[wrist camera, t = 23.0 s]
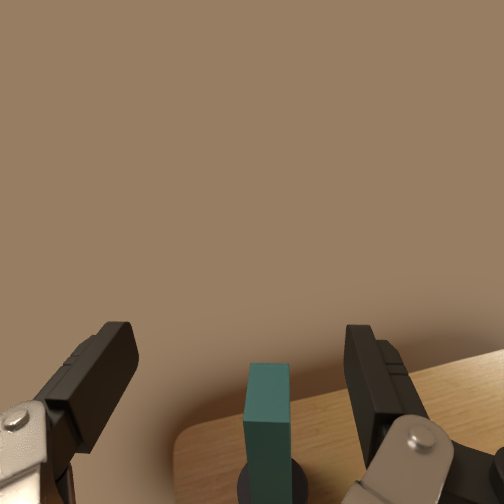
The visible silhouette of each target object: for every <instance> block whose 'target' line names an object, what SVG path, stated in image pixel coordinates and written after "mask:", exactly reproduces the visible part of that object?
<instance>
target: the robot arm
mask: <svg viewBox="0 0 504 504" xmlns="http://www.w3.org/2000/svg"><path fill="white" fill-rule="evenodd" d="M138 361H139V354H138V349H137V345H136V342H135V338H134V334H133V330H132V326H131V324H130V323H129V322H107V323H106V324H105V325H104V326H103V327H102V328H101V329H100V331H99V332H98V333H97V334H96V335H92V336H91V337H89V338H88V339H87V340H85V341H84V342H82V343H81V344H80V345H79V346H78V347H77V348H76V349H75V350H74V352H73V353H72V354H71V356H70V357H69V358H68V359H67V360H66V361H65V362H64V363H63V366H61V367H60V368H59V369H58V371H57V372H56V373H55V374H54V375H53V376H52V377H51V379H50V380H49V381H48V382H47V383H46V385H45V386H44V387H43V388H42V389H41V390H40V392H39V393H38V394H37V395H36V396H35V398H34V399H33V400H30V401H25V402H21V403H19V404H16V405H14V406H12V407H10V408H9V409H7V410H6V411H4V412H3V413H1V414H0V504H76V501H75V492H74V482H73V473H72V466H71V463H70V461H71V459H72V457H73V456H74V454H75V453H88V454H90V452H91V451H92V449H93V447H94V445H95V443H96V442H97V440H98V438H99V436H100V434H101V433H102V431H103V429H104V427H105V425H106V424H107V422H108V420H109V418H110V416H111V415H112V413H113V411H114V409H115V407H116V406H117V404H118V402H119V400H120V398H121V396H122V395H123V393H124V391H125V389H126V387H127V386H128V384H129V382H130V380H131V378H132V377H133V375H134V373H135V371H136V369H137V366H138ZM344 373H345V379H346V383H347V387H348V392H349V396H350V401H351V405H352V409H353V414H354V418H355V423H356V427H357V431H358V436H359V440H360V445H361V449H362V453H363V458H364V462H365V467H366V470H367V471H366V473H365V475H364V476H363V478H362V479H361V481H358V480H357V481H355V482H354V483H353V484H352V486H351V487H350V489H349V491H348V492H347V494H346V496H345V497H344V499H343V501H342V503H341V504H504V447H502V448H500V449H499V450H498V451H497V452H496V454H495V456H494V455H491V454H488V453H485V452H481V451H478V450H475V449H472V448H469V447H466V446H463V445H461V444H458V443H456V442H454V441H453V440H451V439H450V438H449V436H448V435H447V433H446V432H445V431H444V430H443V429H442V428H441V427H440V426H438V425H437V424H436V423H434V422H433V421H431V420H430V419H429V417H428V415H427V413H426V411H425V408H424V406H423V404H422V402H421V400H420V398H419V395H418V393H417V391H416V389H415V387H414V385H413V383H412V380H411V378H410V376H408V372H407V370H406V368H405V366H404V365H403V362H402V359H401V357H400V355H399V352H398V351H397V350H396V349H395V348H394V347H393V346H392V345H391V344H390V343H389V342H388V341H387V340H376V339H375V337H374V334H373V332H372V329H371V327H370V325H347V327H346V338H345V349H344Z"/></svg>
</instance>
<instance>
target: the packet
mask: <svg viewBox="0 0 504 504" xmlns="http://www.w3.org/2000/svg"><path fill="white" fill-rule="evenodd" d="M243 426H244V435H245V444H246V453H247V462H248V471H249V480H250V489H251V498H252V504H292V468H291V423H290V382H289V364H281V363H251V364H250V372H249V379H248V387H247V394H246V403H245V410H244V417H243Z"/></svg>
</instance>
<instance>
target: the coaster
mask: <svg viewBox="0 0 504 504" xmlns="http://www.w3.org/2000/svg"><path fill="white" fill-rule="evenodd" d="M291 468H292V504H307V502H308V483H307V479H306V476H305V474H304V472H303V470H302V468H301V467H300V465H299V464H298V463H297V462H296V461H295V460H294V459H292V458H291ZM237 495H238V501H239V504H252V498H251V489H250V480H249V471H248V462H247V464H246V465H245V466H244V468H243V469H242V471H241V473H240V476H239V479H238V484H237Z"/></svg>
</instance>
